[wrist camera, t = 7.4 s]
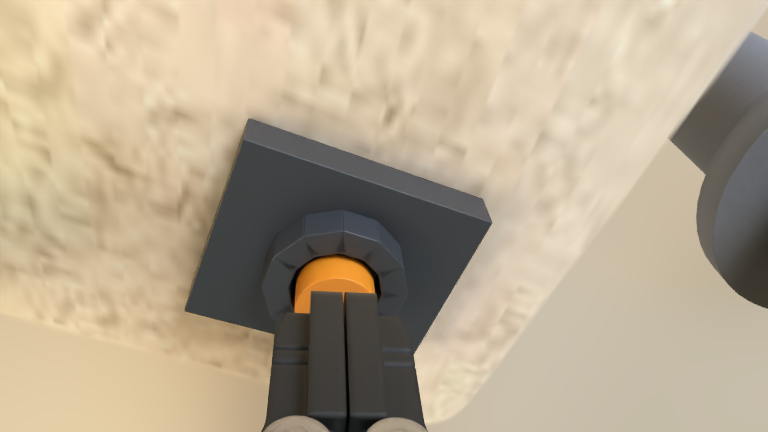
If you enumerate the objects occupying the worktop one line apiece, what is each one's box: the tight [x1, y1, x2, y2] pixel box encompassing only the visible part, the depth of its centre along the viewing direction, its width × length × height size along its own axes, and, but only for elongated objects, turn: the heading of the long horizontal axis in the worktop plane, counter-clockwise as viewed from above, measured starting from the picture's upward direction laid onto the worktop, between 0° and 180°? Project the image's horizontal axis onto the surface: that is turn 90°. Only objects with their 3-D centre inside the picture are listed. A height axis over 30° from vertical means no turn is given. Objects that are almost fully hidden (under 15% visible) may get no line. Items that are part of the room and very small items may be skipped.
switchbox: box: [185, 119, 492, 355], centre depth 31 cm, size 12×10×4 cm
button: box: [294, 255, 375, 313], centre depth 29 cm, size 4×4×2 cm
